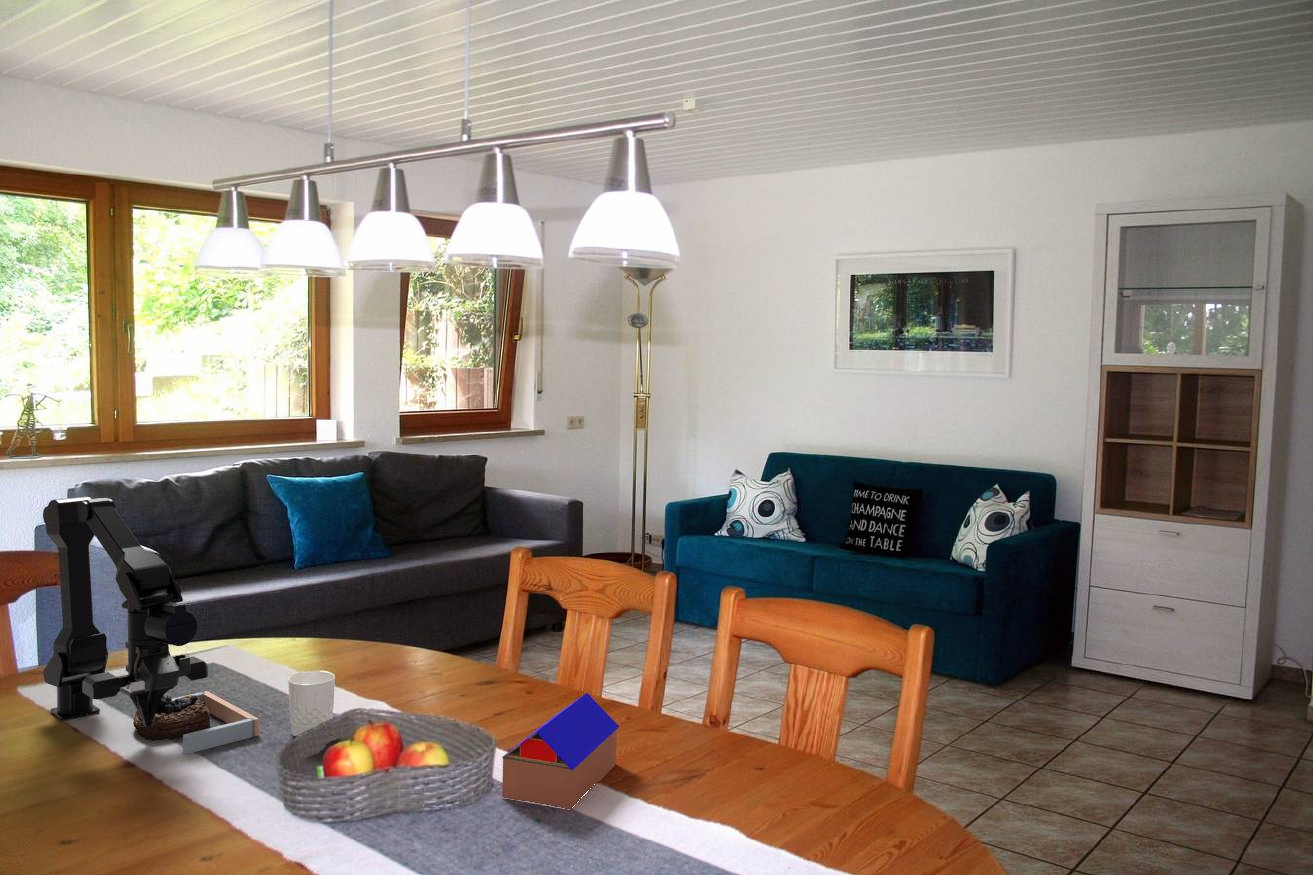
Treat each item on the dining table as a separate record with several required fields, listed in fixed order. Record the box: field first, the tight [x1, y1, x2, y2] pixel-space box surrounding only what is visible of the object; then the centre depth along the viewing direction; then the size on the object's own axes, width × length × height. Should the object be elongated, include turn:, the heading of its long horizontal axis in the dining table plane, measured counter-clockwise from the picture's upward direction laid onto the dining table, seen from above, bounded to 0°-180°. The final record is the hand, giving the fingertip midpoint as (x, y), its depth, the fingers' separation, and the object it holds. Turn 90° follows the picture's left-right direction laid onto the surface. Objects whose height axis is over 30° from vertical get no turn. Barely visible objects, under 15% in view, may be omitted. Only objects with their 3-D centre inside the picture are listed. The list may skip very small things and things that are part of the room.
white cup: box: [287, 670, 336, 737], centre depth 183 cm, size 8×8×10 cm
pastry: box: [132, 694, 211, 742], centre depth 183 cm, size 11×12×6 cm
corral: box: [171, 690, 260, 755], centre depth 183 cm, size 20×13×3 cm, turn 48°
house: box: [500, 692, 620, 809], centre depth 165 cm, size 12×20×12 cm, turn 161°
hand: (147, 726), depth 177 cm, fingers closed
